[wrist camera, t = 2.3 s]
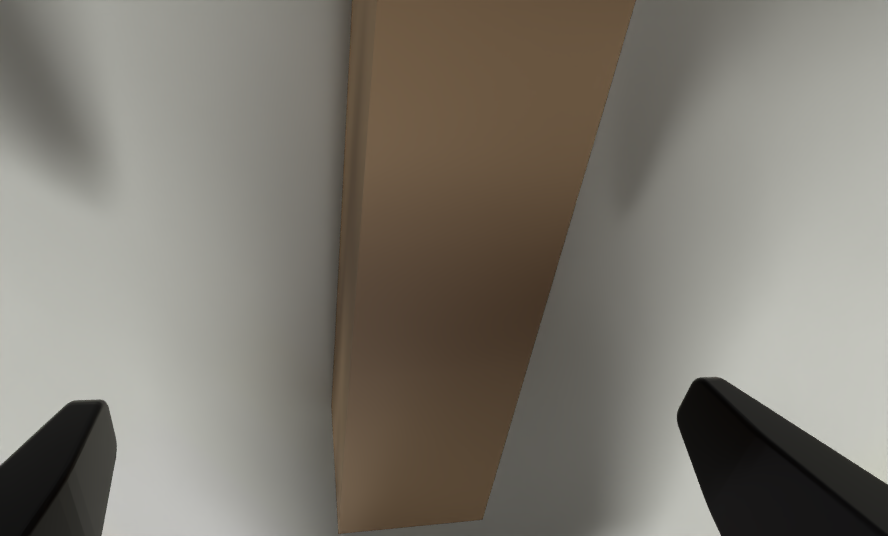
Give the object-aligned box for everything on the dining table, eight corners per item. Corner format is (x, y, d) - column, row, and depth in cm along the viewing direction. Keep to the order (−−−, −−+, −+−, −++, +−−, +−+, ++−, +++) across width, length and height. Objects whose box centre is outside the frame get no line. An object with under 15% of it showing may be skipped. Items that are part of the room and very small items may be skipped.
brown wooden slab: (500, 395, 14) (543, 513, 11) (272, 406, 12) (265, 540, 10) (731, -455, 6) (984, -626, 4) (245, -619, 5) (199, -998, 3)
